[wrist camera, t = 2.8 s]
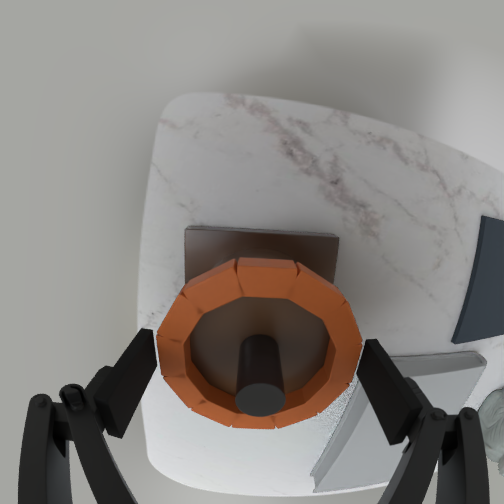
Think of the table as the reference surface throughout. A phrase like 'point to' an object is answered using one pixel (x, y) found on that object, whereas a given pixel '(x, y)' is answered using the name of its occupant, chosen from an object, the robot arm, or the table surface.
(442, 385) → the book
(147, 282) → the table surface
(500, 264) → the mat
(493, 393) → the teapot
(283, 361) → the ring stand
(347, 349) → the ring
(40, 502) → the robot arm
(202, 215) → the table surface
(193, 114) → the table surface
